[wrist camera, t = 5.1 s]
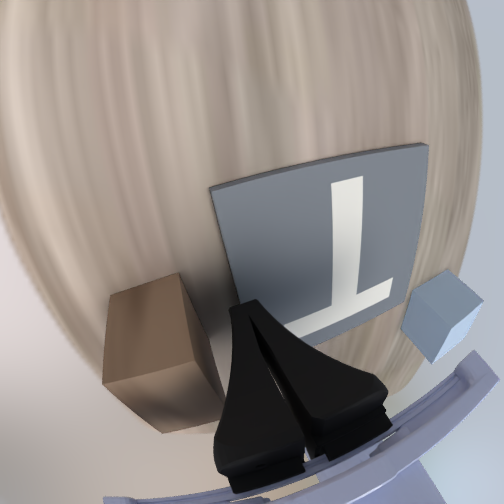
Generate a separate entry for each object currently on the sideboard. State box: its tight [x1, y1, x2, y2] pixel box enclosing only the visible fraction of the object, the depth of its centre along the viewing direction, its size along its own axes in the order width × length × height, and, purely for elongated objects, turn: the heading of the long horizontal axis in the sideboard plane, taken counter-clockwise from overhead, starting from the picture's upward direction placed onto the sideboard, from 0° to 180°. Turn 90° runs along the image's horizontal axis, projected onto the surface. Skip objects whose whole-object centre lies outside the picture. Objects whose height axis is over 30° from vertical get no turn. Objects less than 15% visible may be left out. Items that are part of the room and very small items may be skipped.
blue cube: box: [401, 269, 484, 364], centre depth 19 cm, size 5×5×5 cm
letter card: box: [209, 143, 429, 347], centre depth 15 cm, size 12×12×1 cm
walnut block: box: [102, 273, 226, 434], centre depth 11 cm, size 5×5×4 cm
